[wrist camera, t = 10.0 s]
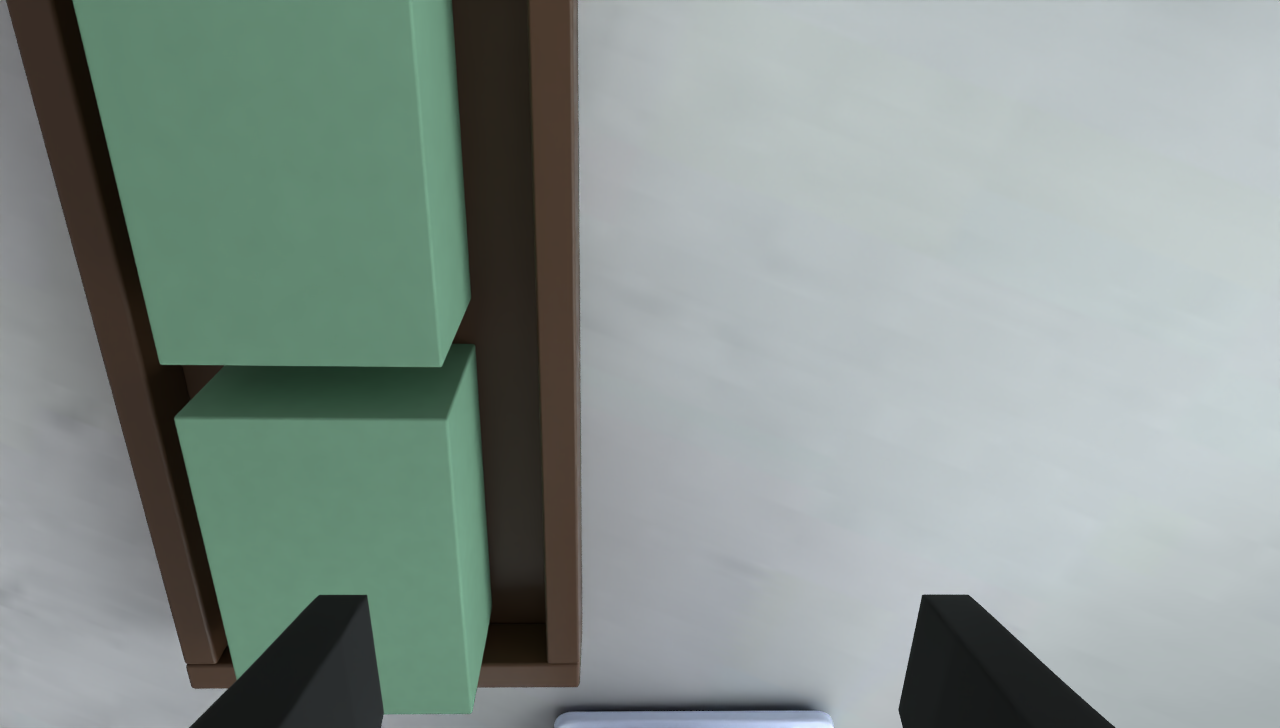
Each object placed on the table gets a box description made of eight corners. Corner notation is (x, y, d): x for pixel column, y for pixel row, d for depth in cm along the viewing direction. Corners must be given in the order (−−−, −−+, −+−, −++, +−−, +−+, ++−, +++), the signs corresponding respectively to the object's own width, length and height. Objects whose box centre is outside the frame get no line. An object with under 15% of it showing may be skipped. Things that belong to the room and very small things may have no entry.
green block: (492, 607, 22) (472, 714, 19) (297, 607, 22) (243, 716, 19) (475, 342, 19) (447, 419, 16) (247, 340, 19) (171, 417, 16)
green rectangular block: (471, 299, 18) (442, 368, 15) (237, 296, 18) (158, 365, 15) (446, -93, 15) (402, -108, 12) (162, -101, 15) (42, -118, 12)
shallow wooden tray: (582, 632, 23) (579, 688, 21) (224, 632, 23) (190, 690, 21) (576, -167, 15) (571, -185, 13) (28, -185, 15) (-53, -205, 13)
